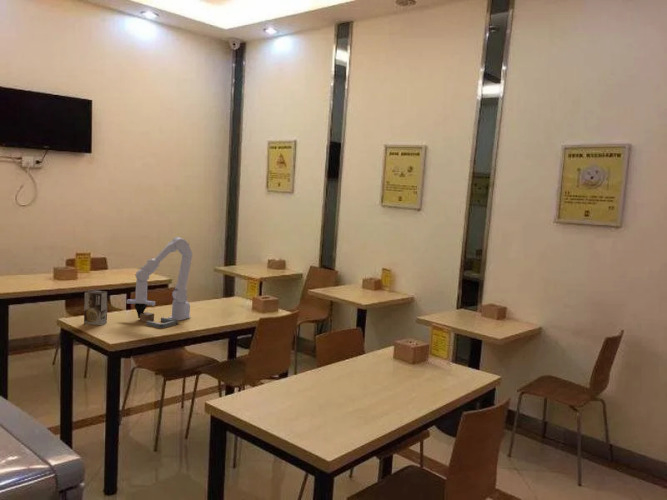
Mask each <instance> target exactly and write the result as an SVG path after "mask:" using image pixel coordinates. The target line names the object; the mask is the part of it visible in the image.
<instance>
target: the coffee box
mask: <svg viewBox="0 0 667 500" xmlns="http://www.w3.org/2000/svg"><path fill="white" fill-rule="evenodd" d="M108 293H109V291H104V290H103V291H102V290H94V289H93V290H88V291H85V292H84V305H83V306H84V309H83V310H84V313H83V324H84V325H85V324H86V325H93V326H94V325H95V326H102V325H105V324H107V323H108V300H109V299H108V298H109V297H108Z"/></svg>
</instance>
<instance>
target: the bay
mask: <svg viewBox="0 0 667 500" xmlns="http://www.w3.org/2000/svg"><path fill="white" fill-rule="evenodd" d="M160 322H162V323H160ZM160 322H156V321H146V322H145V326H149V327H152V326H153V328H156V327H157V329H164V328H169V327H173V326H176V325H178V323H179V320H175V319H170V318H168V317H164V316H162V317H160Z"/></svg>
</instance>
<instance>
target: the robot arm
mask: <svg viewBox="0 0 667 500" xmlns="http://www.w3.org/2000/svg"><path fill="white" fill-rule="evenodd" d="M177 251H178V252H179V253H180V255H181V260H180V261H181V262H180V265H179V271H178V276H177V282H176V285H175V287H174V290H173V291H172V293H171V295H172V296H171V297H172V298H173V300H172V305H171V316H168V317H167V318H169V319H173V320H178V321H183V320H186V319H190V318H192V317H191V315H190V312H191V305H190V303H189V301H188V295H187V294H188V287H187V286H188V285H187V284H188V281H189V274H190V270H191V269H190V268H191V264H192V258H193V252H192V249H191V247H190V244H189V242H188V241H187V240H186V239H184V238H182V237H180V236H175V237H174V238H173V239H172V240H170V241H169V242H168V243H167V244H166V245H165V247H164V248H163V249H162V250H160V252H159V253H158V254H157V256H155V257H154V258H150V259H147V261H146V263H145V264H144V265H143V266H140V269H139V270H137V271H136V273H135V277H136V284H135V298H134V299H132V298H130V299H129V298H128V299H126V304H130V305H131V304H133V306H134V309H135V310H136V313H137V318H138V319H140V314H141V313H145V310H146V309H147V307H148V306H152V307H153V306H154V307H155V306H156V301H154V300H148V287H149V286H148V280H149V278H150V276H151V275H152V274H153V273H154V272H155V271H156V270H158V269H159V267H160V263H161V262H162V261H163V260H164V259H165V258H166V257H168V255H170V253H174V252H177Z"/></svg>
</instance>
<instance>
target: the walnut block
mask: <svg viewBox="0 0 667 500" xmlns="http://www.w3.org/2000/svg"><path fill="white" fill-rule="evenodd" d="M146 321H152V322H155V313H153V312H148V311H144V313H141V314H140V318H139V322H142V323H146Z"/></svg>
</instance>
